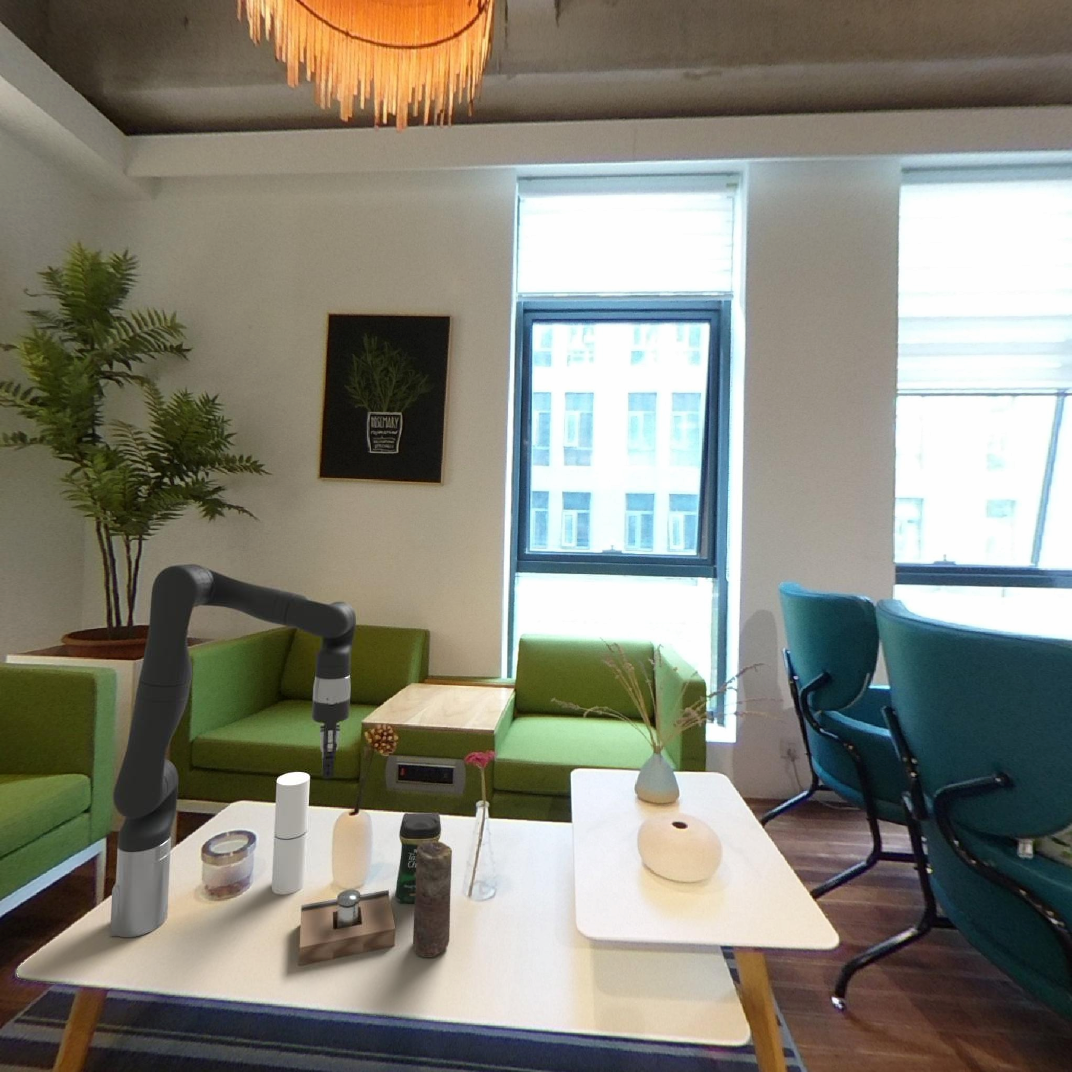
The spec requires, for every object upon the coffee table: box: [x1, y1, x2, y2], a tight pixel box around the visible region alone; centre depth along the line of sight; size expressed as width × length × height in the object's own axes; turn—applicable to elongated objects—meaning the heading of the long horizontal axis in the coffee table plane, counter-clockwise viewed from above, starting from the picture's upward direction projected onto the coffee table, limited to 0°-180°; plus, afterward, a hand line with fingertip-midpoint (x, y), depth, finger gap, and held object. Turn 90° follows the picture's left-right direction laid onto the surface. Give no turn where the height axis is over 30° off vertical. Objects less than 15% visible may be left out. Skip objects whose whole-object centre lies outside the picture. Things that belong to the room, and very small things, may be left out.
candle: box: [412, 841, 453, 958], centre depth 116 cm, size 8×7×20 cm
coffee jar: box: [395, 812, 442, 904], centre depth 132 cm, size 10×8×19 cm
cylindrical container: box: [271, 771, 311, 896], centre depth 133 cm, size 7×7×25 cm
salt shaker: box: [336, 889, 361, 929], centre depth 118 cm, size 5×5×8 cm
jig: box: [298, 889, 396, 967], centre depth 118 cm, size 18×12×4 cm, turn 111°
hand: (327, 777), depth 122 cm, fingers closed
